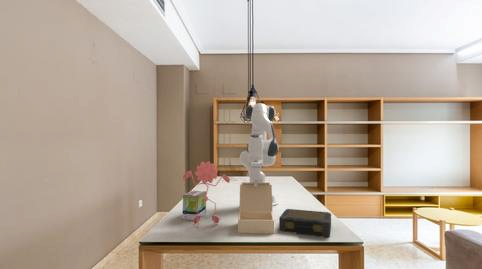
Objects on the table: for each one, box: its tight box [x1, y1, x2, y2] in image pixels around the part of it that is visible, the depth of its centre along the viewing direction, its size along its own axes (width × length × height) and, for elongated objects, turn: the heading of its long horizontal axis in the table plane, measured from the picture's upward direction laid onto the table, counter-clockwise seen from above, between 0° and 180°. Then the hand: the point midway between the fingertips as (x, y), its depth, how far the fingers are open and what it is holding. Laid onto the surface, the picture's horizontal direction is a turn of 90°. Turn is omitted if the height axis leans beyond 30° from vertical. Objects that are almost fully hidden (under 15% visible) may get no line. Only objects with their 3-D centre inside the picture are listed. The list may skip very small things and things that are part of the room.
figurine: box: [182, 161, 231, 228], centre depth 158 cm, size 15×26×35 cm, turn 95°
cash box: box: [278, 208, 332, 238], centre depth 150 cm, size 25×20×8 cm
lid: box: [238, 182, 273, 213], centre depth 161 cm, size 18×17×2 cm
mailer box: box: [237, 211, 275, 234], centre depth 149 cm, size 18×16×7 cm
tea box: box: [182, 190, 207, 221], centre depth 172 cm, size 15×10×15 cm, turn 168°
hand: (255, 186), depth 163 cm, fingers closed
